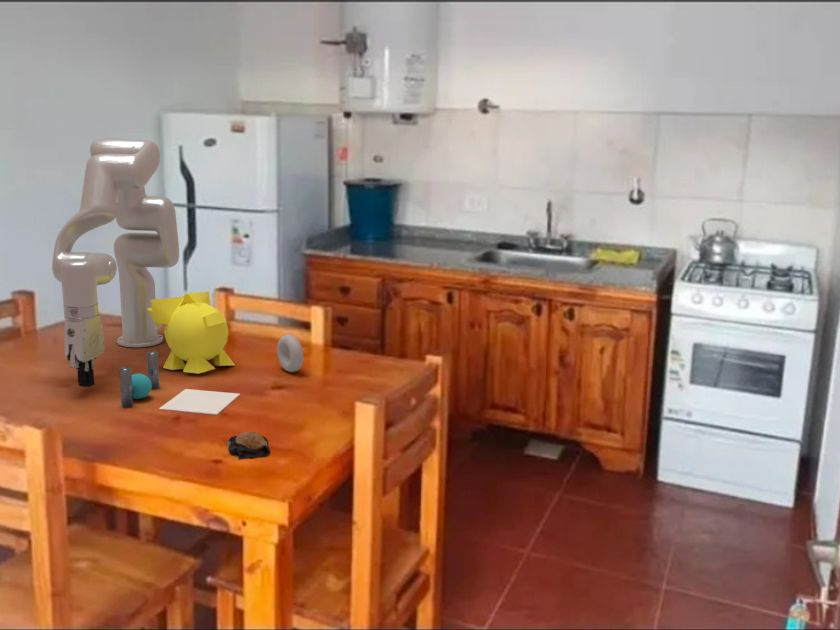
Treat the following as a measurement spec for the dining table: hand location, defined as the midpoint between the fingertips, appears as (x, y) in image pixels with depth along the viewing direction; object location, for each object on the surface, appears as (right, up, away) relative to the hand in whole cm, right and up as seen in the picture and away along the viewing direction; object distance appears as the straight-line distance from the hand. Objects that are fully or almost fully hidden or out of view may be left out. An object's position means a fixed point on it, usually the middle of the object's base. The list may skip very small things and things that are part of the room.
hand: (86, 385), depth 206 cm
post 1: (+13, -4, -8) cm, 16 cm away
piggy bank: (+20, +3, +22) cm, 30 cm away
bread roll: (+45, -11, -30) cm, 55 cm away
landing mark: (+28, -3, -4) cm, 29 cm away
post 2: (+15, -1, +4) cm, 16 cm away
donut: (+46, +2, +19) cm, 50 cm away
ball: (+14, 0, -4) cm, 14 cm away
